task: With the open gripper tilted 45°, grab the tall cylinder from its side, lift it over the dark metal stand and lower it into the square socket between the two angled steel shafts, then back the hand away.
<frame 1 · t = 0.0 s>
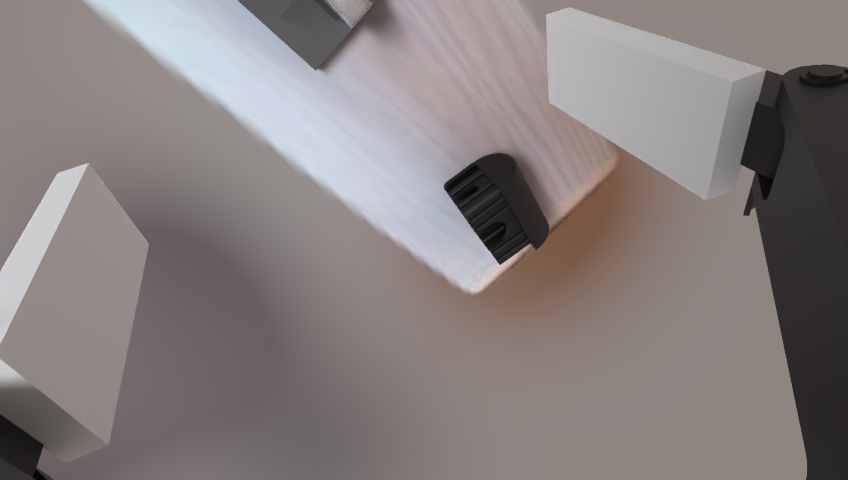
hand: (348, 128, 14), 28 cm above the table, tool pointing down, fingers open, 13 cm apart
end cap: (485, 192, 53), on the table
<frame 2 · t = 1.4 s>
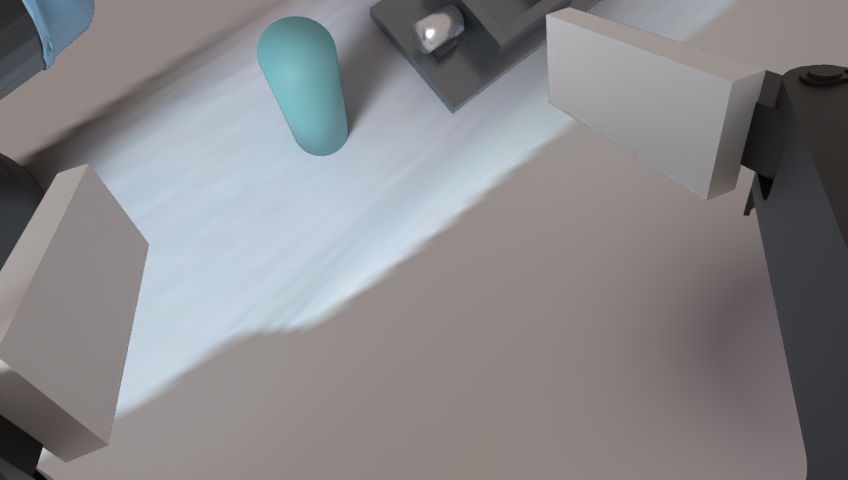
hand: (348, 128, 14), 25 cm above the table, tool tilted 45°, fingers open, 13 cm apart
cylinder: (321, 129, 39), on the table
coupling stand: (494, 3, 42), on the table
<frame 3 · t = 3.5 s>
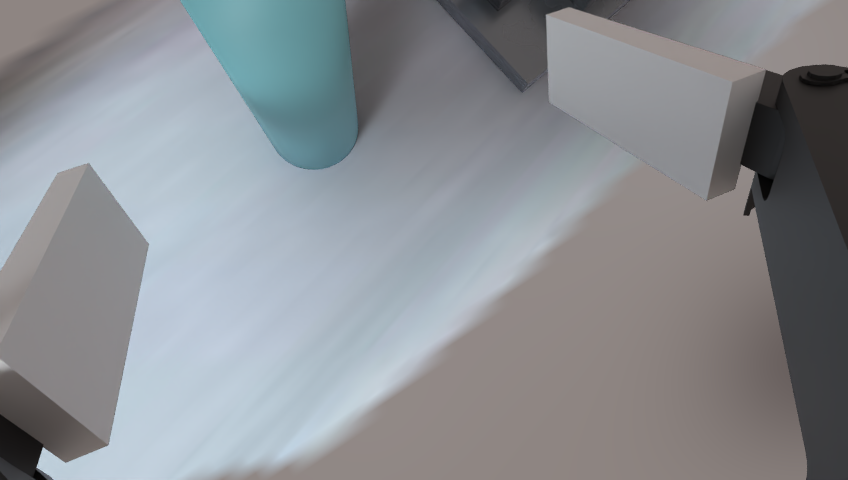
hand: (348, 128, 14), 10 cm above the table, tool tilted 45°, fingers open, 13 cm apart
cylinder: (313, 127, 24), on the table
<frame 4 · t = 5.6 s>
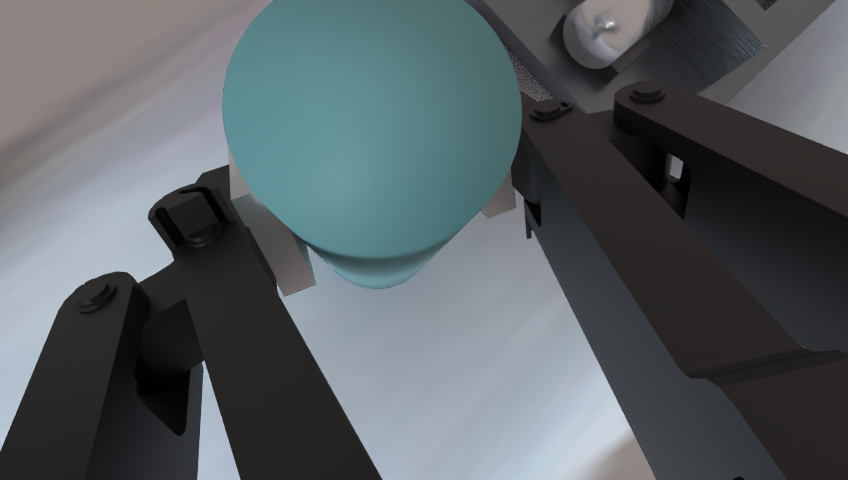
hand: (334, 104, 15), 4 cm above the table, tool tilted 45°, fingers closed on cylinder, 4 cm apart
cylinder: (377, 233, 19), on the table, touching gripper
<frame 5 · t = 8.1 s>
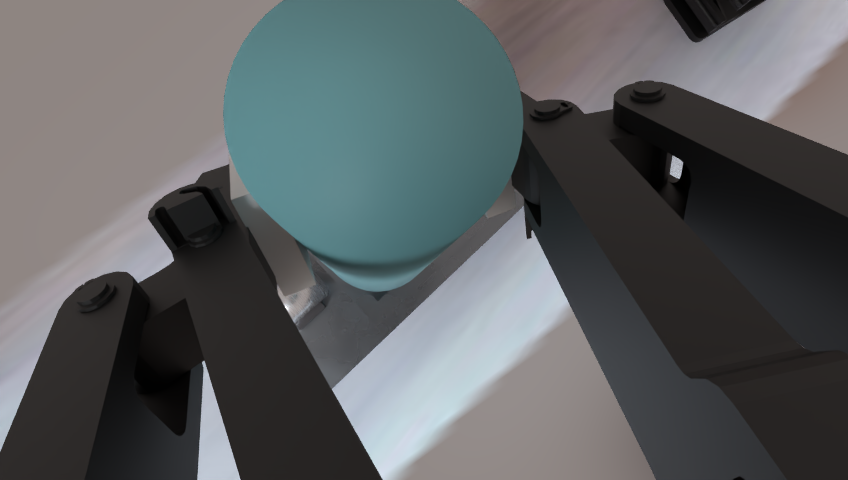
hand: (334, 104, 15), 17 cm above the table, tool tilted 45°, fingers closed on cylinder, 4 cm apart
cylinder: (377, 235, 19), point 13 cm above the table, touching gripper
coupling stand: (380, 226, 32), on the table
when the fingers open (7 cm above the table, at t = 10.4 s): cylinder drops 1 cm, resting on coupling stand.
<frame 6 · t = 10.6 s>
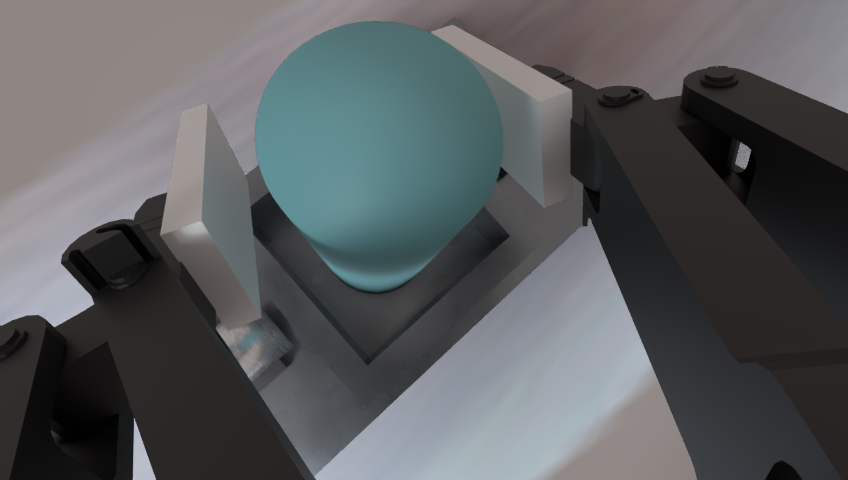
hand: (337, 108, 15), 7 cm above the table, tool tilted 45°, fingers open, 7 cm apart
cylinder: (376, 241, 20), point 1 cm above the table, touching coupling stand
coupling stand: (377, 241, 21), on the table
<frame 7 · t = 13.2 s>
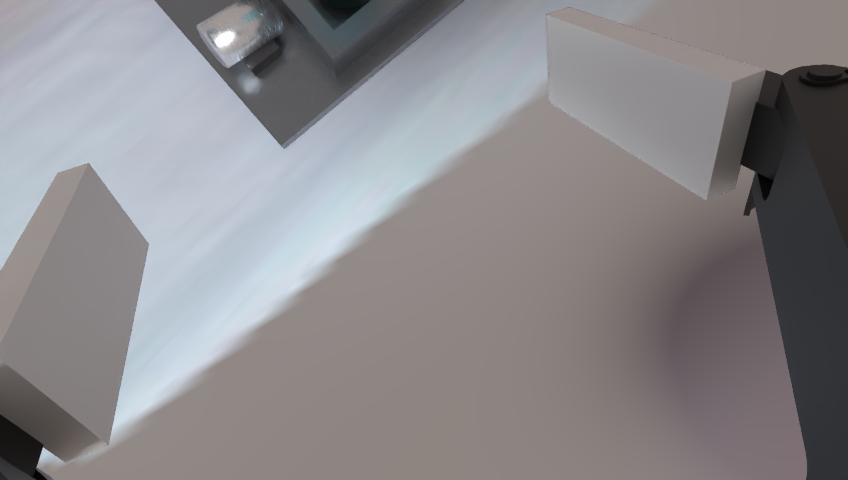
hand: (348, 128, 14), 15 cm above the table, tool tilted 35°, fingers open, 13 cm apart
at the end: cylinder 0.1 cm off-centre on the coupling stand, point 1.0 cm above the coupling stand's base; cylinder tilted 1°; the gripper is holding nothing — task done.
